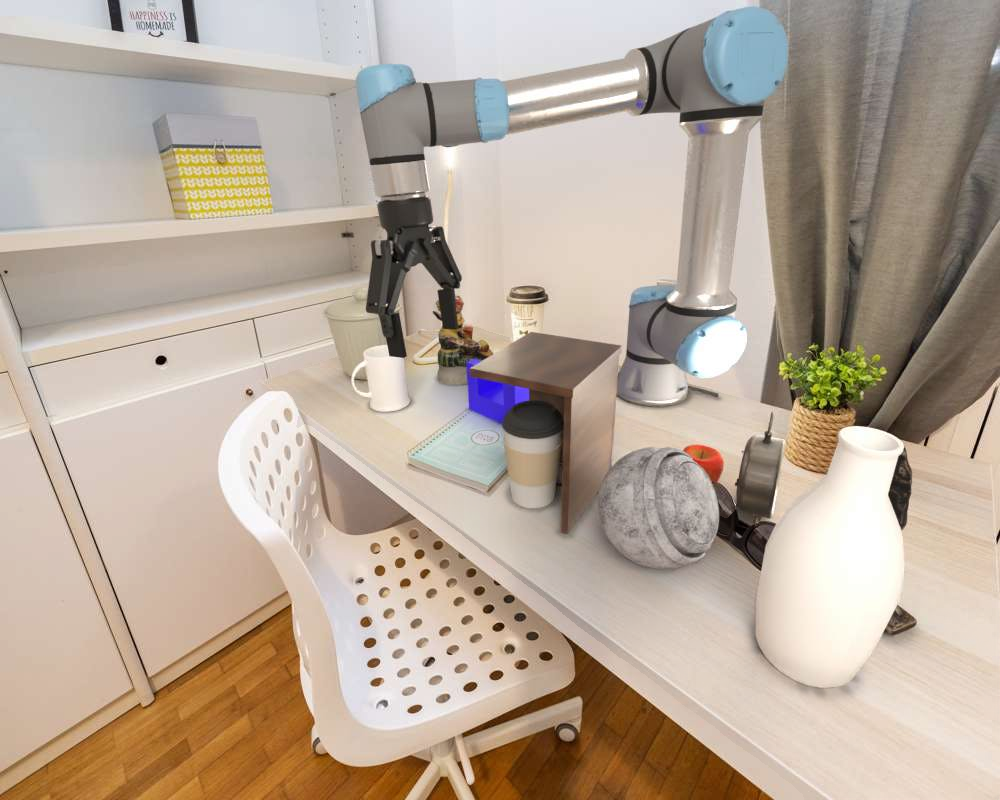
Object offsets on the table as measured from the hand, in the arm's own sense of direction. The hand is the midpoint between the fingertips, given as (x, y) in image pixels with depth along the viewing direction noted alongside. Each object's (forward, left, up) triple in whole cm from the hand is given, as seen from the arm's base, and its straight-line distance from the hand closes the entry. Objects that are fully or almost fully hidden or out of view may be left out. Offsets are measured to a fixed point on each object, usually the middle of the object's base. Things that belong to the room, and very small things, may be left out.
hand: (426, 341), depth 81 cm
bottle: (-43, +39, -22) cm, 62 cm away
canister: (+22, -41, -22) cm, 51 cm away
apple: (-41, +11, -22) cm, 48 cm away
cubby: (-19, +9, -22) cm, 30 cm away
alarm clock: (-48, +16, -22) cm, 55 cm away
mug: (+15, -22, -22) cm, 34 cm away
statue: (-53, +34, -22) cm, 67 cm away
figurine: (-1, -37, -22) cm, 43 cm away
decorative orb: (-31, +24, -22) cm, 45 cm away
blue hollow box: (-16, -22, -22) cm, 35 cm away
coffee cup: (-16, +11, -22) cm, 29 cm away
